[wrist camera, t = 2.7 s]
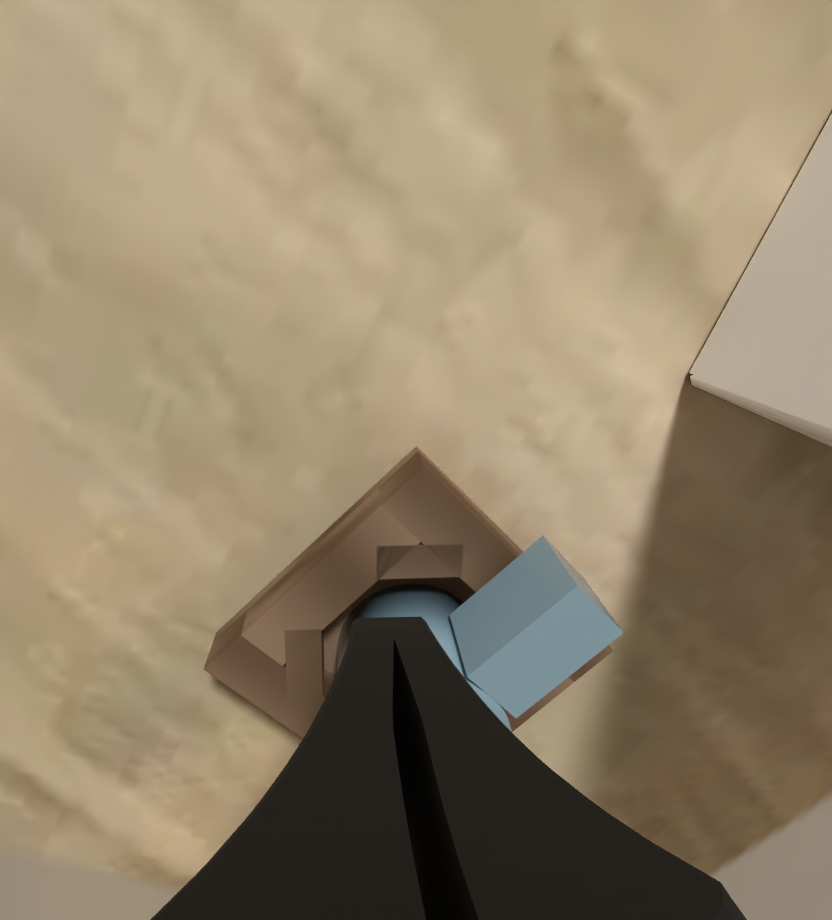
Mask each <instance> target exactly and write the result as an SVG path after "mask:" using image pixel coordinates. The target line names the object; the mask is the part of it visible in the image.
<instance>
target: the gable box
mask: <svg viewBox="0 0 832 920" xmlns="http://www.w3.org/2000/svg"><path fill="white" fill-rule="evenodd" d="M689 373H690V374H692V375H691V376H690V379H691V383H692V385H693V386H695V387H697V388H699V389H702V390H704V391H706V392H708V393H711V394H713V395H715V396H718V397H720V398H722V399H724V400H727V401H729V402H731V403H733V404H736V405H738V406H740V407H742V408H745V409H747V410H749V411H752V412H754V413H756V414H758V415H761V416H763V417H765V418H767V419H770V420H772V421H774V422H776V423H779V424H781V425H783V426H786V427H788V428H790V429H792V430H795V431H797V432H799V433H801V434H804V435H806V436H808V437H810V438H813V439H815V440H817V441H820V442H822V443H824V444H826V445H829V446H831V447H832V114H831V115H830V117H829V119H828V121H827V123H826V125H825V126H824V128H823V130H822V132H821V134H820V135H819V137H818V139H817V141H816V143H815V145H814V146H813V148H812V150H811V152H810V154H809V155H808V157H807V159H806V161H805V163H804V165H803V166H802V168H801V170H800V172H799V174H798V176H797V177H796V179H795V181H794V183H793V185H792V186H791V188H790V190H789V192H788V194H787V196H786V197H785V199H784V201H783V203H782V205H781V206H780V208H779V210H778V212H777V214H776V216H775V217H774V219H773V221H772V223H771V225H770V226H769V228H768V230H767V232H766V234H765V236H764V237H763V239H762V241H761V243H760V245H759V247H758V248H757V250H756V252H755V254H754V256H753V257H752V259H751V261H750V263H749V265H748V267H747V268H746V270H745V272H744V274H743V276H742V277H741V279H740V281H739V283H738V285H737V287H736V288H735V290H734V292H733V294H732V296H731V298H730V299H729V301H728V303H727V305H726V307H725V308H724V310H723V312H722V314H721V316H720V318H719V319H718V321H717V323H716V325H715V327H714V328H713V330H712V332H711V334H710V336H709V338H708V339H707V341H706V343H705V345H704V347H703V348H702V350H701V352H700V354H699V356H698V358H697V359H696V361H695V363H694V365H693V367H692V369H691V370H690V372H689Z"/></svg>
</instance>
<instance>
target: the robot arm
mask: <svg viewBox="0 0 832 920" xmlns="http://www.w3.org/2000/svg"><path fill="white" fill-rule="evenodd" d="M151 920H746V918H745V917H744V915H743V914H742V912H741V911H740V910H739V908H738V907H737V906H736V904H735V903H734V901H733V900H732V899H731V897H730V896H729V894H728V893H727V891H726V890H725V888H724V887H723V885H722V884H721V883H720V882H719V881H717V880H716V879H714V878H712V877H710V876H709V875H707V874H705V873H704V872H702V871H700V870H698V869H697V868H695V867H693V866H692V865H690V864H688V863H686V862H685V861H683V860H681V859H680V858H678V857H676V856H674V855H673V854H671V853H669V852H667V851H666V850H664V849H662V848H661V847H659V846H657V845H655V844H654V843H652V842H651V841H649V840H647V839H646V838H644V837H643V836H641V835H640V834H638V833H637V832H635V831H634V830H632V829H631V828H629V827H628V826H626V825H625V824H623V823H622V822H620V821H619V820H617V819H616V818H614V817H613V816H611V815H610V814H609V813H607V812H606V811H604V810H603V809H602V808H600V807H599V806H597V805H596V804H595V803H593V802H592V801H591V800H589V799H588V798H587V797H585V796H584V795H583V794H582V793H580V792H579V791H578V790H577V789H575V788H574V787H573V786H571V785H570V784H569V783H568V782H566V781H565V780H564V779H563V778H561V777H560V776H559V775H557V774H556V773H555V772H554V771H553V770H551V769H550V768H549V767H548V766H547V765H546V764H544V763H543V762H542V761H541V760H540V759H539V758H538V757H537V756H536V755H534V754H533V753H532V752H531V751H530V750H529V749H528V748H527V747H526V746H525V745H524V744H523V743H522V742H521V741H520V740H519V739H518V738H517V737H516V736H515V735H514V734H513V733H512V732H511V731H510V730H509V729H508V728H507V727H506V726H505V725H504V724H503V723H502V722H501V721H500V719H499V718H498V717H497V716H496V715H495V714H494V713H493V712H492V711H491V709H490V708H489V707H488V706H487V705H486V704H485V703H484V701H483V700H482V699H481V698H480V697H479V695H478V694H477V693H476V692H475V691H474V689H473V688H472V687H471V686H470V684H469V683H468V682H467V680H466V679H465V678H464V677H463V675H462V674H461V673H460V671H459V670H458V669H457V668H456V666H455V665H454V663H453V662H452V661H451V659H450V658H449V656H448V655H447V654H446V652H445V651H444V649H443V648H442V646H441V645H440V643H439V642H438V640H437V639H436V637H435V636H434V634H433V632H432V631H431V629H430V628H429V626H428V624H427V622H426V621H425V620H424V619H423V618H422V617H377V618H357V619H356V620H355V621H353V622H352V623H351V632H350V637H349V641H348V645H347V648H346V651H345V654H344V656H343V659H342V662H341V665H340V667H339V669H338V672H337V674H336V676H335V679H334V681H333V683H332V685H331V688H330V690H329V692H328V694H327V696H326V698H325V700H324V702H323V704H322V706H321V708H320V709H319V711H318V713H317V715H316V717H315V719H314V721H313V723H312V725H311V726H310V728H309V730H308V731H307V733H306V735H305V736H304V738H303V740H302V741H301V743H300V745H299V746H298V748H297V749H296V751H295V753H294V754H293V756H292V757H291V759H290V760H289V762H288V763H287V765H286V766H285V768H284V769H283V771H282V772H281V773H280V775H279V776H278V777H277V779H276V780H275V782H274V783H273V784H272V786H271V787H270V788H269V790H268V791H267V792H266V794H265V795H264V797H263V798H262V799H261V801H260V802H259V803H258V804H257V806H256V807H255V808H254V809H253V811H252V812H251V813H250V814H249V816H248V817H247V818H246V819H245V821H244V822H243V823H242V824H241V825H240V826H239V827H238V829H237V830H236V831H235V832H234V833H233V834H232V835H231V836H230V838H229V839H228V840H227V841H226V842H225V843H224V844H223V846H222V847H221V848H220V849H219V850H218V851H217V852H216V854H215V855H214V856H213V857H212V858H211V859H210V860H209V862H208V863H207V864H206V865H205V866H204V867H203V868H202V869H201V870H200V871H199V872H198V873H197V874H196V875H195V876H194V877H193V878H192V879H191V880H190V881H189V882H188V883H187V884H186V885H185V886H184V887H183V888H182V889H181V890H180V891H179V892H178V893H177V894H176V895H175V896H174V897H173V898H172V899H171V900H170V901H169V902H168V903H167V904H166V905H165V906H164V907H163V908H162V909H161V910H160V911H159V912H158V913H157V914H156V915H155V916H154V917H153V918H152V919H151Z"/></svg>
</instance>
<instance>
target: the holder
mask: <svg viewBox="0 0 832 920" xmlns="http://www.w3.org/2000/svg"><path fill="white" fill-rule="evenodd" d="M522 553H523V551H522V550H521V549H520V548H519V547H518V546H517V545H516V544H515V543H514V542H513V541H512V540H511V539H510V538H509V537H508V536H507V535H506V534H505V533H504V532H503V531H502V530H501V529H500V528H499V527H498V526H497V525H496V524H495V523H494V522H493V521H492V520H491V519H490V518H489V517H488V516H486V515H485V514H484V513H483V512H482V511H481V510H480V509H479V508H478V507H477V506H476V505H475V504H474V503H473V502H472V501H471V500H470V499H469V498H468V497H467V496H466V495H465V494H464V493H463V492H462V491H461V490H460V489H459V488H458V487H457V486H456V485H455V484H454V483H453V482H452V481H451V480H450V479H449V478H448V477H447V476H446V475H445V474H444V473H443V472H442V471H441V470H440V469H439V468H438V467H437V466H436V465H435V464H434V463H433V462H432V461H431V460H430V459H429V458H428V457H427V456H426V455H425V454H424V453H423V452H422V451H420V450H419V449H418V448H417V447H415V448H414V449H413V450H412V451H411V452H410V453H409V454H408V455H407V456H406V457H405V458H403V459H402V460H401V461H400V462H399V463H398V464H397V465H396V466H395V467H394V468H393V469H392V470H391V471H390V472H388V473H387V474H386V475H385V476H384V477H383V478H382V479H381V480H380V481H379V482H378V483H377V484H376V485H374V486H373V487H372V488H371V489H370V490H369V491H368V492H367V493H366V494H365V495H364V496H363V497H362V498H361V499H359V500H358V501H357V502H356V503H355V504H354V505H353V506H352V507H351V508H350V509H349V510H348V511H347V512H346V513H344V514H343V515H342V516H341V517H340V518H339V519H338V520H337V521H336V522H335V523H334V524H333V525H332V526H330V527H329V528H328V529H327V530H326V531H325V532H324V533H323V534H322V535H321V536H320V537H319V538H318V539H317V540H315V541H314V542H313V543H312V544H311V545H310V546H309V547H308V548H307V549H306V550H305V551H304V552H303V553H301V554H300V555H299V556H298V557H297V558H296V559H295V560H294V561H293V562H292V563H291V564H290V565H289V566H288V567H286V568H285V569H284V570H283V571H282V572H281V573H280V574H279V575H278V576H277V577H276V578H275V579H274V580H273V581H271V582H270V583H269V584H268V585H267V586H266V587H265V588H264V589H263V590H262V591H261V592H260V593H259V594H257V595H256V596H255V597H254V598H253V599H252V600H251V601H250V602H249V603H248V604H247V605H246V606H245V607H244V608H242V609H241V610H240V611H239V612H238V613H237V614H236V615H235V616H234V617H233V618H232V619H231V620H230V621H229V622H227V623H226V624H225V625H224V626H223V627H222V628H221V629H220V630H219V631H218V632H217V633H216V635H215V638H214V641H213V644H212V647H211V650H210V653H209V656H208V658H207V661H206V664H205V667H204V670H205V671H207V672H208V673H209V674H211V675H212V676H214V677H215V678H217V679H218V680H219V681H221V682H222V683H224V684H225V685H227V686H228V687H230V688H231V689H232V690H234V691H235V692H237V693H238V694H240V695H241V696H242V697H244V698H245V699H247V700H248V701H250V702H251V703H253V704H254V705H255V706H257V707H258V708H260V709H261V710H263V711H264V712H265V713H267V714H268V715H270V716H271V717H273V718H274V719H275V720H277V721H278V722H280V723H281V724H283V725H284V726H286V727H287V728H288V729H290V730H291V731H293V732H294V733H296V734H297V735H298V736H300V737H301V738H304V736H305V735H306V733H307V731H308V730H309V728H310V726H311V725H312V723H313V721H314V719H315V717H316V715H317V713H318V711H319V709H320V708H321V706H322V704H323V702H324V700H325V698H326V696H327V694H328V692H329V690H330V688H331V685H332V683H333V681H334V679H335V676H336V674H337V658H338V639H339V635H340V631H341V629H342V626H343V624H344V622H345V620H346V619H347V617H348V616H349V614H350V613H351V612H352V610H353V609H354V608H355V607H356V606H357V605H358V604H359V603H361V602H362V601H363V600H365V599H366V598H367V597H369V596H371V595H372V594H374V593H376V592H378V591H381V590H383V589H386V588H389V587H392V586H398V585H404V584H422V585H429V586H433V587H436V588H439V589H442V590H444V591H446V592H448V593H450V594H452V595H453V596H455V597H456V598H457V599H459V600H460V601H461V602H462V603H464V602H465V601H467V600H468V599H469V598H470V597H471V596H472V595H474V594H475V593H476V592H477V591H478V590H479V589H481V588H482V587H483V586H484V585H485V584H487V583H488V582H489V581H490V580H491V579H492V578H494V577H495V576H496V575H497V574H498V573H499V572H501V571H502V570H503V569H504V568H505V567H507V566H508V565H509V564H510V563H511V562H512V561H514V560H515V559H516V558H517V557H518V556H519V555H521V554H522ZM611 652H612V649H611V648H610V646H609V645H608V646H607V647H605V648H604V649H603V650H602V651H600V652H599V653H598V654H597V655H595V656H594V657H593V658H592V659H590V660H589V661H588V662H587V663H585V664H584V665H583V666H582V667H580V668H579V669H578V670H577V671H575V672H574V673H573V674H572V675H570V676H569V677H568V678H567V679H565V680H564V681H563V682H561V683H560V684H559V685H558V686H556V687H555V688H554V689H553V690H551V691H550V692H549V693H548V694H546V695H545V696H544V697H543V698H541V699H540V700H539V701H538V702H536V703H535V704H534V705H533V706H531V707H530V708H529V709H528V710H526V711H525V712H524V713H523V714H521V715H520V716H519V717H518V718H515V717H514V716H512V715H511V714H510V713H509V712H508V711H507V710H505V712H506V714H507V717H508V720H509V723H510V727H511V731H512V732H513V731H514V730H515V729H516V728H518V727H519V726H520V725H521V724H523V723H524V722H525V721H526V720H528V719H529V718H530V717H531V716H533V715H534V714H535V713H536V712H538V711H539V710H540V709H541V708H542V707H544V706H545V705H546V704H547V703H549V702H550V701H551V700H552V699H554V698H555V697H556V696H557V695H559V694H560V693H561V692H562V691H564V690H565V689H566V688H567V687H569V686H570V685H571V684H572V683H574V682H575V681H576V680H577V679H579V678H580V677H581V676H582V675H584V674H585V673H586V672H587V671H589V670H590V669H591V668H592V667H594V666H595V665H596V664H597V663H599V662H600V661H601V660H602V659H604V658H605V657H606V656H607V655H609V654H610V653H611Z"/></svg>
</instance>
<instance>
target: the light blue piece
mask: <svg viewBox="0 0 832 920" xmlns="http://www.w3.org/2000/svg"><path fill="white" fill-rule="evenodd" d="M377 617H422V618H423V619H424V620H425V621H426V622H427V624H428V626H429V628H430V629H431V631H432V632H433V634H434V636H435V637H436V639H437V640H438V642H439V643H440V645H441V646H442V648H443V649H444V651H445V652H446V654H447V655H448V656H449V658H450V659H451V661H452V662H453V663H454V665H455V666H456V668H457V669H458V670H459V671H460V673H461V674H462V675H463V677H464V678H465V679H466V680H467V682H468V683H469V684H470V686H471V687H472V688H473V689H474V691H475V692H476V693H477V694H478V695H479V697H480V698H481V699H482V700H483V701H484V703H485V704H486V705H487V706H488V707H489V708H490V709H491V711H492V712H493V713H494V714H495V715H496V716H497V717H498V718H499V719H500V721H501V722H502V723H503V724H504V725H505V726H506V727H507V728H508V729H509V730H510V731H511V727H510V723H509V720H508V717H507V714H506V712H505V710H507V711H508V712H509V713H510V714H511V715H512V716H514V717H515V718H518V717H519V716H520V715H521V714H523V713H524V712H525V711H526V710H528V709H529V708H530V707H531V706H533V705H534V704H535V703H536V702H538V701H539V700H540V699H541V698H543V697H544V696H545V695H546V694H548V693H549V692H550V691H551V690H553V689H554V688H555V687H556V686H558V685H559V684H560V683H561V682H563V681H564V680H565V679H567V678H568V677H569V676H570V675H572V674H573V673H574V672H575V671H577V670H578V669H579V668H580V667H582V666H583V665H584V664H585V663H587V662H588V661H589V660H590V659H592V658H593V657H594V656H595V655H597V654H598V653H599V652H600V651H602V650H603V649H604V648H605V647H607V646H608V645H609V644H610V643H612V642H613V641H614V640H615V639H617V638H618V637H619V636H621V635H622V634H623V631H622V630H621V628H620V627H619V626H618V624H617V623H616V622H615V620H614V619H613V617H612V616H611V615H610V613H609V612H608V610H607V609H606V608H605V606H604V605H603V604H602V602H601V601H600V599H599V598H598V597H597V595H596V594H595V593H594V591H593V590H592V588H591V587H590V586H589V584H588V583H587V581H586V580H585V579H584V577H583V576H582V575H581V574H580V573H579V572H578V571H577V570H576V569H575V568H574V567H573V566H572V565H571V564H570V563H569V562H568V561H567V560H566V559H565V558H564V557H563V556H562V555H561V554H560V553H559V552H558V551H557V550H556V549H555V547H554V546H553V545H552V544H551V543H550V542H549V541H548V540H547V539H546V538H545V537H544V536H542V537H541V538H539V539H538V540H537V541H536V542H535V543H534V544H532V545H531V546H530V547H529V548H528V549H527V550H525V551H524V552H523V553H522V554H521V555H519V556H518V557H517V558H516V559H515V560H514V561H512V562H511V563H510V564H509V565H508V566H507V567H505V568H504V569H503V570H502V571H501V572H499V573H498V574H497V575H496V576H495V577H494V578H492V579H491V580H490V581H489V582H488V583H487V584H485V585H484V586H483V587H482V588H481V589H479V590H478V591H477V592H476V593H475V594H474V595H472V596H471V597H470V598H469V599H468V600H467V601H465V602H464V603H462V602H461V601H460V600H459V599H457V598H456V597H455V596H453V595H452V594H450V593H448V592H446V591H444V590H442V589H439V588H436V587H433V586H429V585H422V584H404V585H398V586H392V587H389V588H386V589H383V590H381V591H378V592H376V593H374V594H372V595H371V596H369V597H367V598H366V599H365V600H363V601H362V602H361V603H359V604H358V605H357V606H356V607H355V608H354V609H353V610H352V612H351V613H350V614H349V616H348V617H347V619H346V620H345V622H344V624H343V626H342V629H341V631H340V635H339V639H338V658H337V672H338V669H339V667H340V665H341V662H342V659H343V656H344V654H345V651H346V648H347V645H348V641H349V637H350V632H351V623H352V622H353V621H355V620H356V619H357V618H377ZM511 732H512V731H511Z"/></svg>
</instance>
